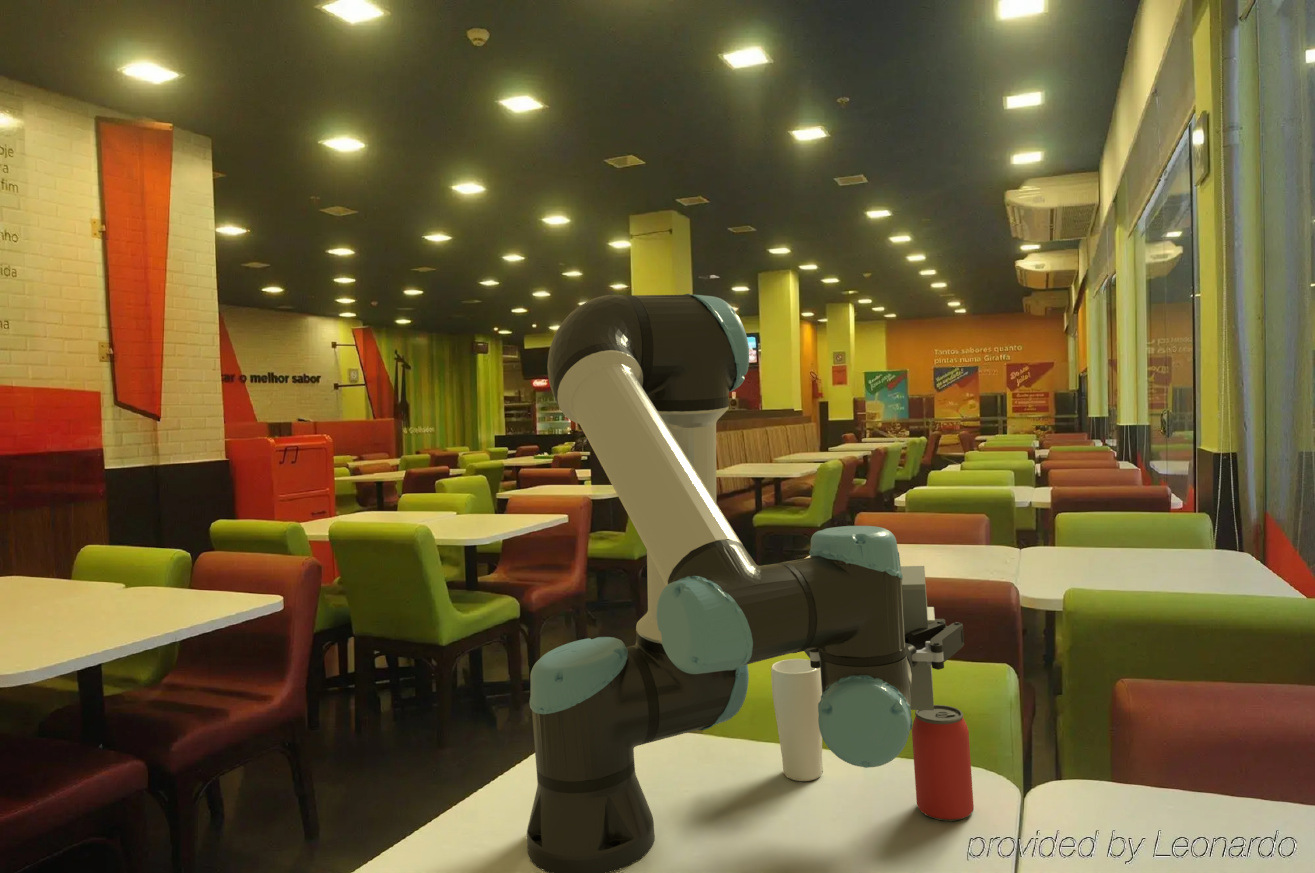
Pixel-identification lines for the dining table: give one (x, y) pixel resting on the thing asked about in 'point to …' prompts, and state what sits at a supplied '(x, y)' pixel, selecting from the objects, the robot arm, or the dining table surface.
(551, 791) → the robot arm
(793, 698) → the drinking glass
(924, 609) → the tall grey box
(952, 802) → the beer can
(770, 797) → the dining table surface
